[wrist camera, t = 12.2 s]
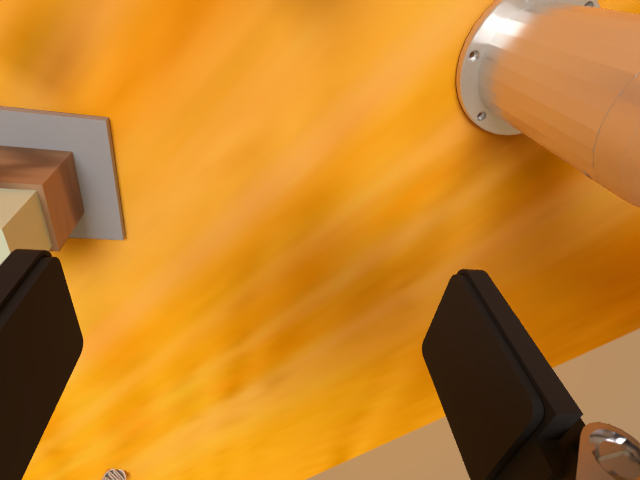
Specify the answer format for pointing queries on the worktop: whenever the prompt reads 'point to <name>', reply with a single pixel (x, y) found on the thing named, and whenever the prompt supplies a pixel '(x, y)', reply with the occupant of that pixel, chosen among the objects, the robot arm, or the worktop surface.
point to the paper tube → (114, 475)
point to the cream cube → (21, 222)
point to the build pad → (75, 161)
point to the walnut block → (46, 186)
